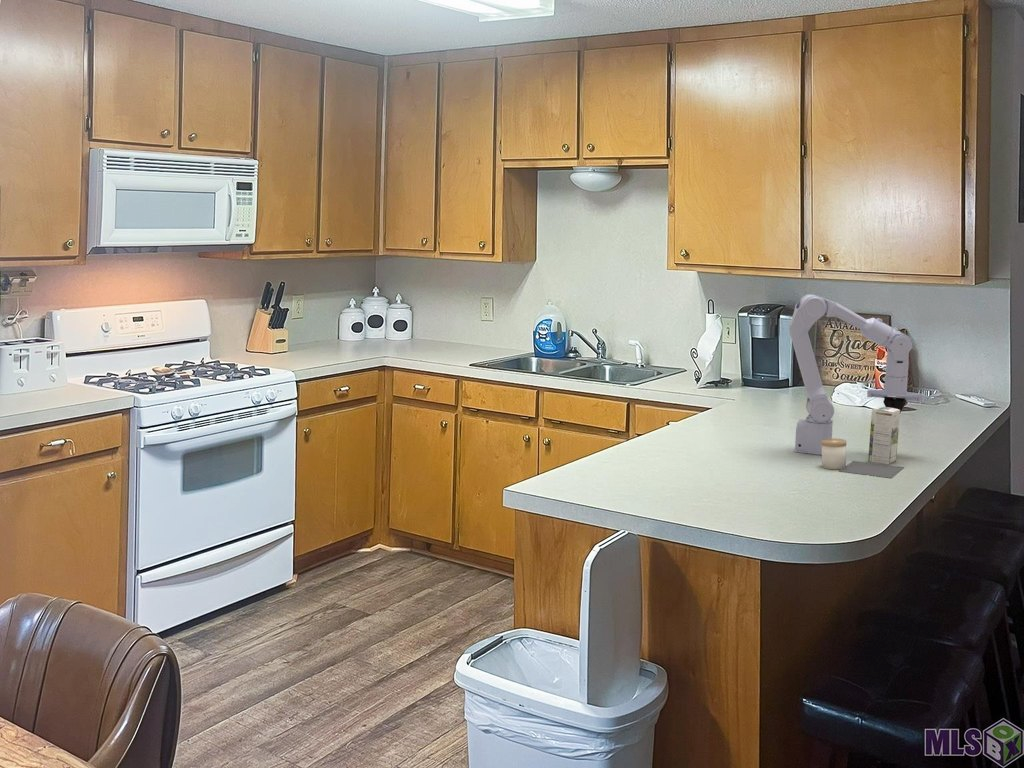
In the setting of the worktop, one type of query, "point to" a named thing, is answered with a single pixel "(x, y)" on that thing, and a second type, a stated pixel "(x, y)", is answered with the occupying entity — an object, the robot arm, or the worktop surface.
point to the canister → (833, 453)
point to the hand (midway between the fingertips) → (893, 424)
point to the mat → (872, 469)
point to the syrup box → (884, 435)
